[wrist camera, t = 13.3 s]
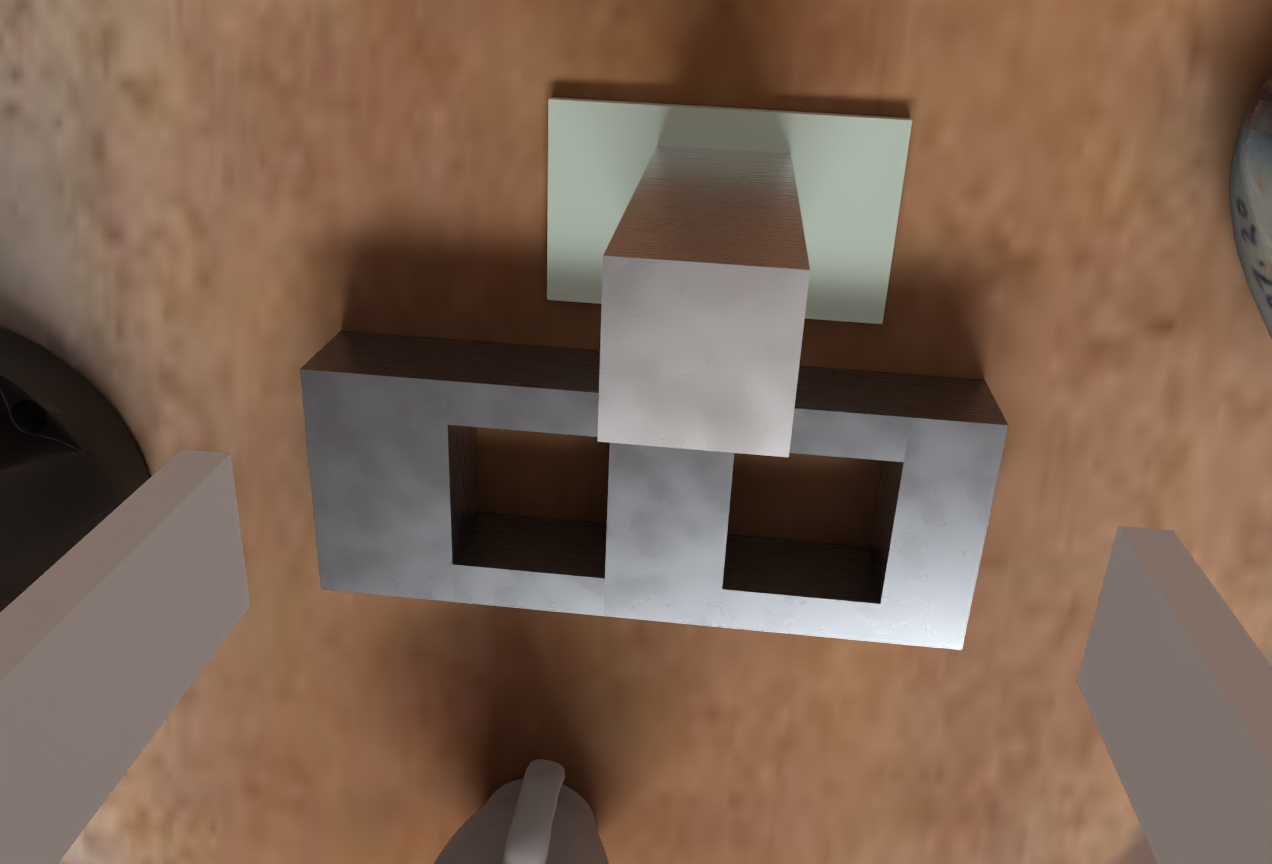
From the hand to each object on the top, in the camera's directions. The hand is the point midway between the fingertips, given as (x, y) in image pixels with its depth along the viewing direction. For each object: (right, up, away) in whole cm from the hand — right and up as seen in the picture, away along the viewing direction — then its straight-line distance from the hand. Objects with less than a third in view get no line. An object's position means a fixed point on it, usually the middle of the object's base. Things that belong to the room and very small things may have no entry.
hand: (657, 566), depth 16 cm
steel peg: (+2, +9, +21) cm, 23 cm away
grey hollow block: (0, +1, +26) cm, 26 cm away
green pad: (+3, +10, +21) cm, 24 cm away
